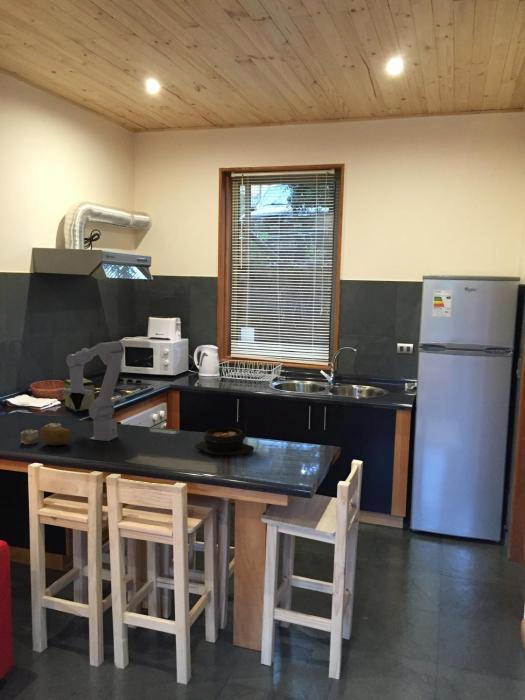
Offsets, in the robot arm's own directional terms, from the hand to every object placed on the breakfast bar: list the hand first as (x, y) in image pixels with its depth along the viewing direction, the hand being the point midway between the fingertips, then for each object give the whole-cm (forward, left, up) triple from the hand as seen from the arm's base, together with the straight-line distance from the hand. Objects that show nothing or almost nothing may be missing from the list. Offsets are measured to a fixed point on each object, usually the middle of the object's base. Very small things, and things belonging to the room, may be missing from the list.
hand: (77, 409), depth 260 cm
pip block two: (+7, +9, -10) cm, 16 cm away
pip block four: (+10, +21, -10) cm, 26 cm away
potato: (-3, +21, -11) cm, 24 cm away
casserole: (-74, +9, -11) cm, 75 cm away
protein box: (+24, -38, -11) cm, 46 cm away
